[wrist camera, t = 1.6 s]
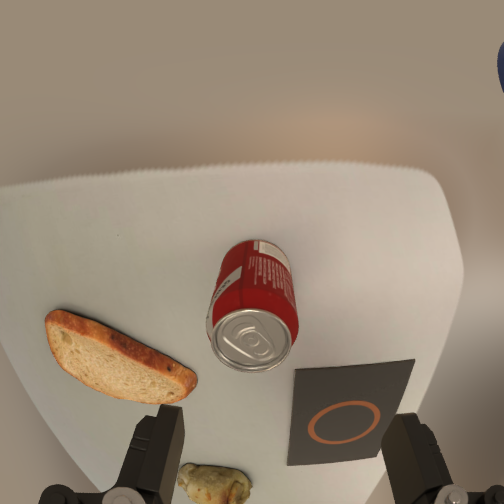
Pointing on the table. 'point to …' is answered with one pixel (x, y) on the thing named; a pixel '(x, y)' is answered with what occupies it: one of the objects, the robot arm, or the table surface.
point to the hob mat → (344, 411)
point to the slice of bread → (115, 361)
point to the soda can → (253, 308)
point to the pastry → (214, 484)
